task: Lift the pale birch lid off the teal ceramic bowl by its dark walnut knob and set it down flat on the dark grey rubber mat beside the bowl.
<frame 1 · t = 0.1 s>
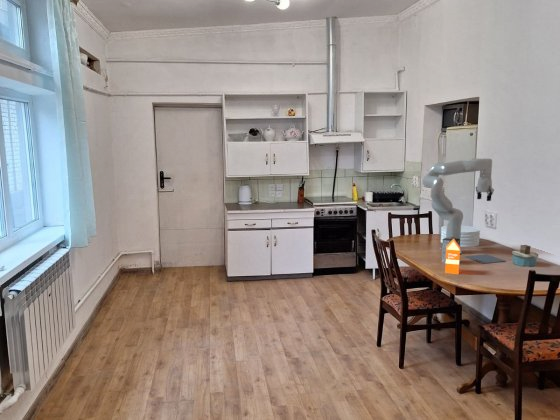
hand: (483, 200, 323), 37 cm above the table, tool pointing down, fingers open, 9 cm apart
coffee box: (450, 262, 297), on the table
mat: (484, 259, 304), on the table
plate stack: (459, 243, 353), on the table
bowl: (524, 263, 292), on the table
lid: (524, 254, 291), point 6 cm above the table, touching bowl
orange juice: (451, 271, 276), on the table
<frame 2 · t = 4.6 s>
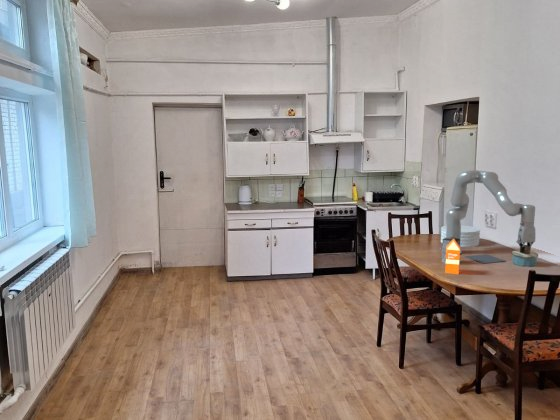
hand: (525, 251, 291), 8 cm above the table, tool pointing down, fingers closed on lid, 4 cm apart
lid: (524, 254, 291), point 6 cm above the table, touching bowl, gripper
everything else where it was.
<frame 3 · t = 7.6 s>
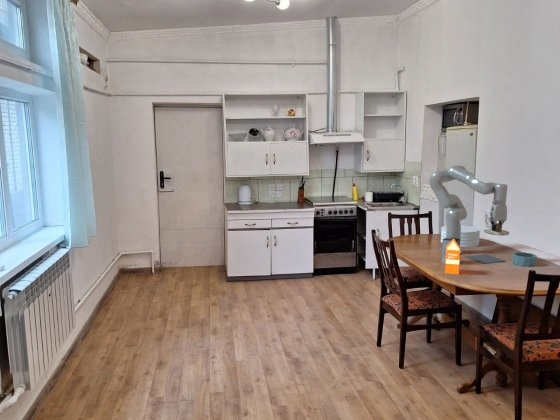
hand: (496, 229, 298), 21 cm above the table, tool pointing down, fingers closed on lid, 4 cm apart
lid: (496, 232, 298), point 19 cm above the table, touching gripper
everything else where it was.
when the fingers open (4 cm above the table, at t = 10.8 s): lid drops 2 cm, resting on mat.
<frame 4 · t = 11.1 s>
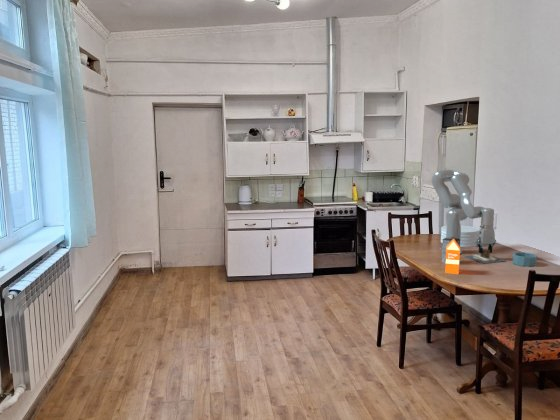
hand: (485, 252, 303), 4 cm above the table, tool pointing down, fingers open, 6 cm apart
lid: (484, 258, 304), resting on mat
everything else where it was.
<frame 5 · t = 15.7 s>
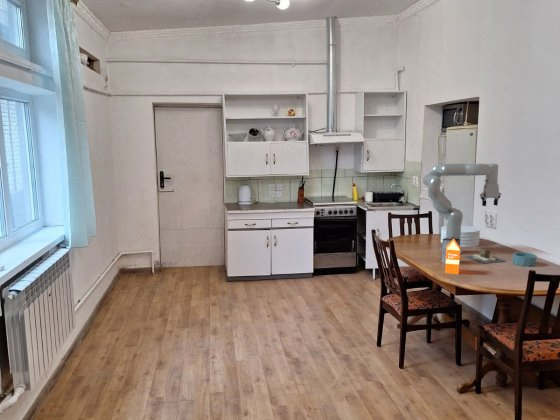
hand: (489, 205, 319), 33 cm above the table, tool pointing down, fingers open, 9 cm apart
nothing on the table moved.
at the end: lid inside the target area (0.0 cm from its centre), point 0.5 cm above the table; lid touching mat; the gripper is holding nothing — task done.
